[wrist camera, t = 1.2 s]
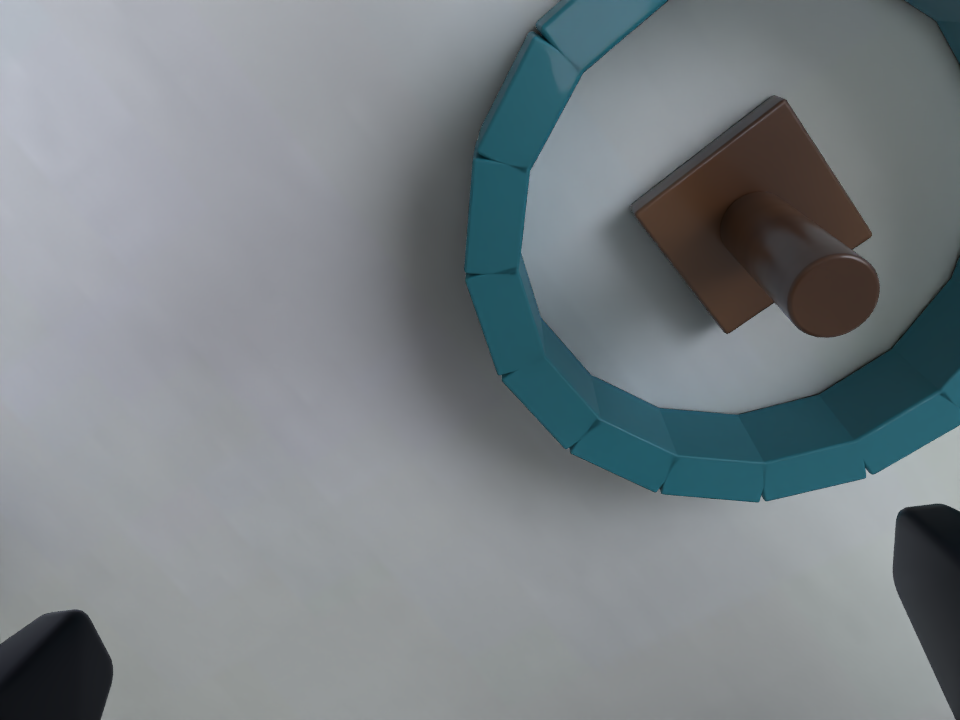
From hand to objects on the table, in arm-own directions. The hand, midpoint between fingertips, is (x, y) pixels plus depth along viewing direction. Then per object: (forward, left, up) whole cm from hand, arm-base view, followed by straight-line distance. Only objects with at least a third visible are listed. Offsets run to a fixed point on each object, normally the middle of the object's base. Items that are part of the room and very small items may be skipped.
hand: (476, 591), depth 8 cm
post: (+5, -3, -12) cm, 13 cm away
